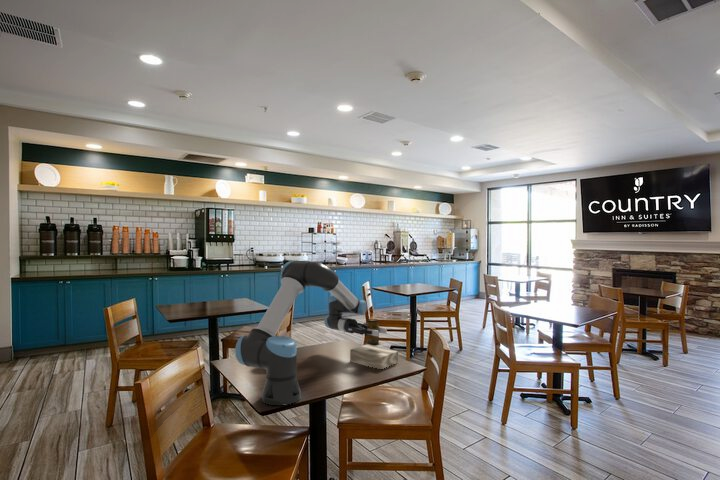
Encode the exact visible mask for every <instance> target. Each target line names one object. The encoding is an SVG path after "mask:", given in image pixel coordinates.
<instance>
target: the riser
mask: <svg viewBox="0 0 720 480" xmlns="http://www.w3.org/2000/svg"><path fill="white" fill-rule="evenodd" d="M349 355H350V357H349V358H350V361H349V362H350V363H355V364H359V365H361V366H362V365H363V366H366V367H368V366H369V368H372V367H373V369H375V368H377V369H376V370H379V369H383V370H385V369H387V368H390V367H392V366H394V365H393V364H395V365H397V364H399V351H398V350H395V349H391V348H386V347H382V346H379V345H377V346H373V345H369V344H366V343H365V344H364V345H361V346H358V347H357V346H356V347H354V348H351V349H350V350H349ZM396 363H397V364H396ZM391 365H392V366H391ZM389 366H390V367H389ZM386 367H387V368H386ZM384 368H385V369H384Z"/></svg>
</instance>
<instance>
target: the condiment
mask: <svg viewBox="0 0 720 480" xmlns="http://www.w3.org/2000/svg"><path fill="white" fill-rule="evenodd" d="M367 323H368V325H367V329H373V330H377V331H378V336H373V335H369V334H367V336H366V341H364V342H363V344H365V345H366V344H369V345H373V346H381V345H385V343H384V342H381V341H380V333H379V327H380V326H379V320H378V319H376V318H369V319H368V320H367Z"/></svg>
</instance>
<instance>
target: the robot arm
mask: <svg viewBox="0 0 720 480" xmlns="http://www.w3.org/2000/svg"><path fill="white" fill-rule="evenodd" d="M279 277H280V283H281V286H280V287H279V289H278V291H277V292H276V294H275V296H274V297H273V299H272V301H271V303H270V305H269V306H268V308H267V310H266V312H265V313H264V314H263V317H261V319H260V322H259V323H258V324H257V326H256V327H252V328H251V330H250V331H249V333H248V334H245V335H242V336H241V337H240V338H239V339H238V340H237V341H236V344H235V349H234V353H235V358H236V360H237V362H238V363H239V364H241V365H242V366H246V367H248V368H249V367H250V368H251V367H252V368H257V369H261V370H266V371H265V372H266V380H265V383H264V386H263V389H262V393H261V402H262V401H263V402H264V403H263V402H262V403H263V404H265V403H266V404H265V405H267V404H269V405H268V406H270V405H283V404H290V405H292V404H291V403H293V404H295V403H297V402H299V401H300V400H301V398H302V392H301V391H302V390H301V388H300V384H299V381H298V377H297V373H298V372H297V361H298V360H297V359H298V358H297V357H298V356H297V355H298V349H297V342H296V340H294V338H292V337H288V336H286V335H285V336H284V335H281V336H280V335H277V333H278V332H279V330H280V327H281V326H282V324H283V323H284V321H285V319H286V317H287V316H288V313H289V311H290V310H291V308H292V306H293V304H294V302H295V300H296V299H297V297H298V294H299V295H300V294H302V293H304V290H305V289H306V287H314V288H315V287H316V288H320V289H322V290H323V291H326V292H329V294H330V295H329V297H328V315H326V316H325V318H324V319H325V320H324V326H325V327H326V328H328V329H331V330H335V331H340V332H343V333H349V334H357V335H362V336H363V335H364V336H366V337H367V334H369V335H373V336H378V331H377V330H373V329H367V325H368V322H364V323H362V322H358V321H357V320H356V319H354V318H350V317H344V316H343V313H346V314H353V315H355V314H356V315H365V314H366V312H367V309H368V303H367V302H366V300H364V299H363V300H362V299H358V298H357V296H355V294H354V293H353V292H351V291H350V289H348V287H346V285H345V284H343V282H342V281H341V280H340V279H339V276H338V275H337V273H336V272H335V271H334V270H332V269H331V268H330V267H328V266H327V265H326V264H323V263H320V262H319V261H307V260H303V261H302V260H301V261H299V260H291V261H288V262H285V264H283V266H282V267H281V270H280V276H279ZM387 331H388V330H387V328H386V327H381V326H379V334H385V335H386V334H387V333H388V332H387ZM298 400H299V401H298ZM294 402H295V403H294Z"/></svg>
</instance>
